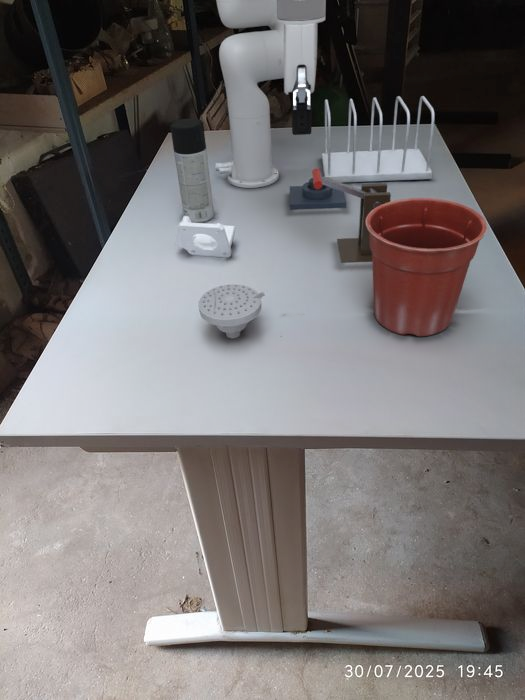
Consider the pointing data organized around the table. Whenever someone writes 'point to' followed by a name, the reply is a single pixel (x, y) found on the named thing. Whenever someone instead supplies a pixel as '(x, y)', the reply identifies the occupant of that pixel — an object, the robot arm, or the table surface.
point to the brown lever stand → (363, 226)
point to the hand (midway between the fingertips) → (301, 124)
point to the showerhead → (230, 307)
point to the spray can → (192, 169)
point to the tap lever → (337, 185)
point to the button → (311, 185)
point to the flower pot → (421, 261)
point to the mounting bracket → (205, 238)
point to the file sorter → (377, 153)
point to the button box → (315, 198)
